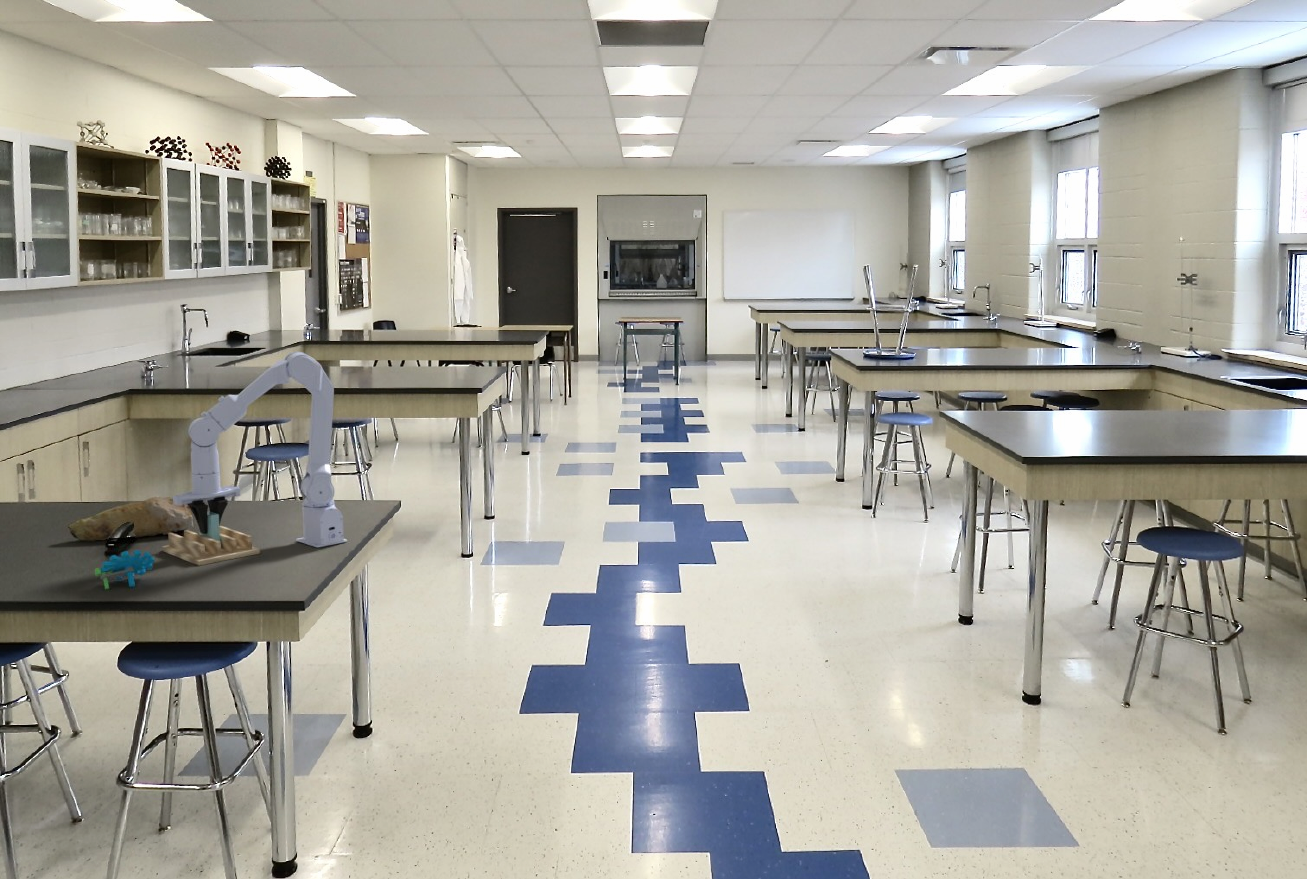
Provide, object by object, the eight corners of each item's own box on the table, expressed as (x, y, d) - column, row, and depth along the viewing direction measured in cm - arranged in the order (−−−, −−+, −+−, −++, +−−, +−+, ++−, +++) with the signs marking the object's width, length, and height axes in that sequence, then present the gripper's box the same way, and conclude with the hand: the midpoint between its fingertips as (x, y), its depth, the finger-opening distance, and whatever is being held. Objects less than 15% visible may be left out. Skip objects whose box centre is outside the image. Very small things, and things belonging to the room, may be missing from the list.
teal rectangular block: (220, 549, 250) (218, 514, 249) (212, 550, 249) (210, 515, 247) (208, 544, 254) (206, 510, 253) (200, 546, 253) (198, 511, 251)
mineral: (65, 511, 254) (65, 509, 263) (71, 551, 254) (71, 548, 263) (190, 492, 266) (186, 491, 275) (195, 530, 266) (192, 528, 275)
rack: (259, 553, 250) (258, 535, 250) (198, 565, 240) (197, 547, 240) (221, 539, 263) (220, 522, 262) (162, 550, 252) (160, 533, 252)
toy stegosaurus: (156, 567, 233) (150, 542, 225) (161, 591, 230) (156, 567, 222) (98, 580, 228) (90, 556, 221) (103, 605, 226) (95, 581, 218)
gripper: (228, 465, 256) (231, 523, 259) (165, 474, 246) (169, 534, 248) (243, 469, 252) (246, 528, 254) (179, 478, 241) (183, 540, 243)
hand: (209, 532), depth 251 cm, fingers closed
